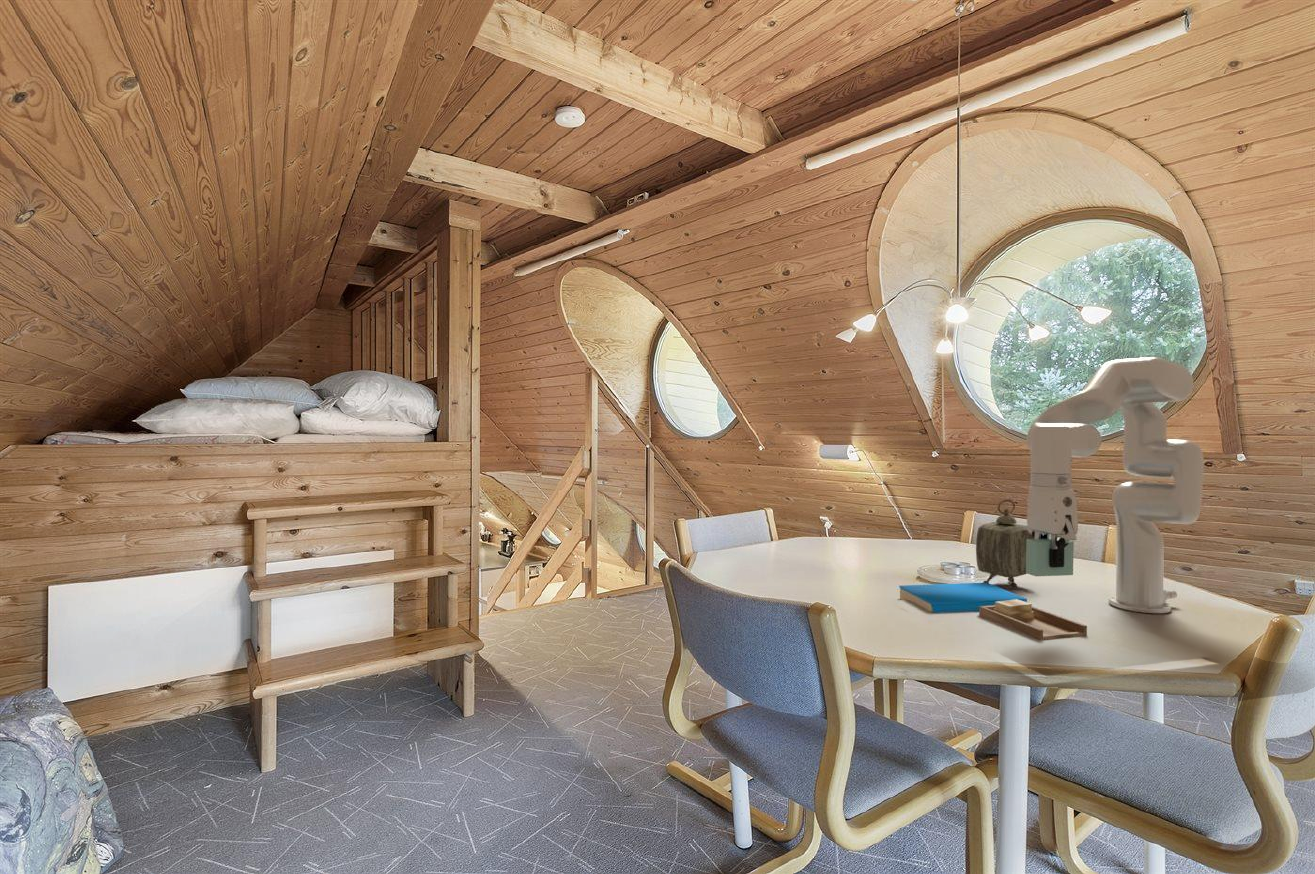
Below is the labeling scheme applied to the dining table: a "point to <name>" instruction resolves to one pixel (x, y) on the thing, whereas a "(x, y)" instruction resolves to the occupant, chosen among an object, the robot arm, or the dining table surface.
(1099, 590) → the dining table surface
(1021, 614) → the offcut low
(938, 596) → the book
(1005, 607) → the offcut top
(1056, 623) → the tray
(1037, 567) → the block
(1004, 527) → the tabletop clock
